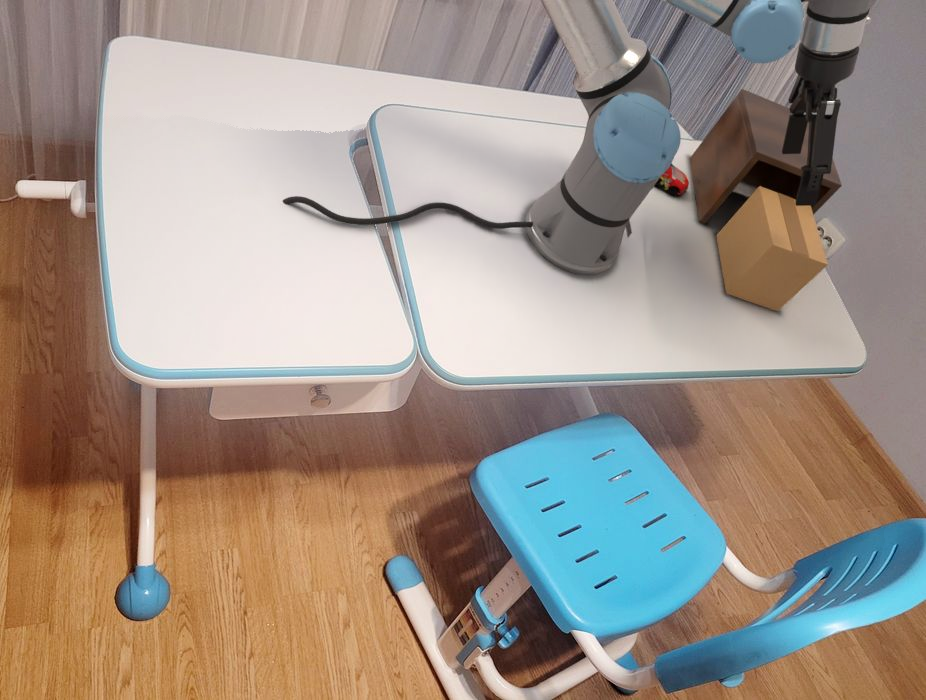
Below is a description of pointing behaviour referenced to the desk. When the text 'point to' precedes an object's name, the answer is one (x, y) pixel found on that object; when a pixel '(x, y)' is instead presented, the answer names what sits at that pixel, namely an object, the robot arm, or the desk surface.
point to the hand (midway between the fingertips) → (797, 177)
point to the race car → (673, 181)
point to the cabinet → (751, 155)
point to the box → (770, 249)
